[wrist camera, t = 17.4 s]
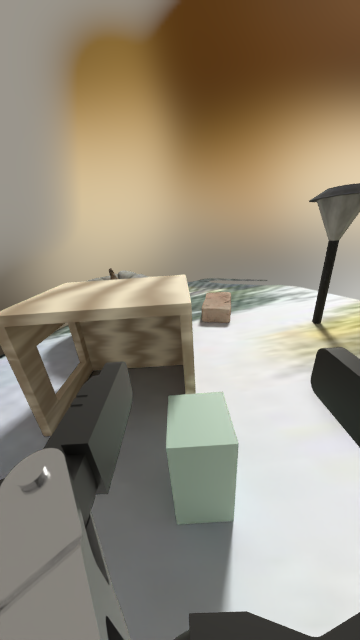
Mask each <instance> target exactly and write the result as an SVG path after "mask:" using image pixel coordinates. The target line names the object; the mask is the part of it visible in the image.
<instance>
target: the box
mask: <svg viewBox="0 0 360 640" xmlns="http://www.w3.org/2000/svg"><path fill="white" fill-rule="evenodd" d="M65 323H68V325H69V328H70V332H71V335H72V338H73V341H74V344H75V348H76V351H77V354H78V357H79V361H80V363H79V364H78V366H77V367H76V368H75V370H74V371H73V372H72V374H71V375H70V376H69V378H68V379H67V380H66V381H65V383H64V384H63V385H62V387H61V388H60V389H59V391H58V392H57V393H56V394H55V392H54V389H53V387H52V384H51V382H50V379H49V377H48V374H47V372H46V369H45V367H44V364H43V362H42V359H41V357H40V354H39V351H38V349H37V345H38V344H39V343H41V342H42V341H43V340H44V339H46V338H47V337H48V336H50V335H51V334H52V333H53V332H55V331H56V330H57V329H58V328H60V327H61V326H62V325H63V324H65ZM0 345H1V347H2V349H3V351H4V353H5V355H6V357H7V359H8V362H9V364H10V366H11V368H12V370H13V372H14V374H15V376H16V378H17V381H18V383H19V385H20V387H21V389H22V391H23V393H24V395H25V397H26V399H27V402H28V404H29V406H30V408H31V410H32V412H33V414H34V416H35V418H36V421H37V423H38V425H39V427H40V429H41V431H42V433H43V435H44V436H52V434H53V432H54V431H55V429H56V428H57V426H58V424H59V423H60V421H61V419H62V418H63V416H64V415H65V413H66V411H67V410H68V408H69V407H70V406H71V403H72V402H73V400H74V398H76V395H77V394H78V392H79V390H80V389H81V387H82V385H83V384H84V383H86V381H87V380H88V378H89V377H90V375H91V373H92V372H93V371H94V370H102V368H103V367H104V365H105V363H108V362H123V361H124V362H126V365H127V368H141V367H157V366H172V365H183V366H184V380H185V393H186V394H195V373H194V352H193V332H192V311H191V300H190V295H189V290H188V285H187V280H186V275H173V276H160V277H144V278H130V279H116V280H102V281H88V282H73V283H64V284H62V285H60V286H57V287H55V288H53V289H50V290H48V291H46V292H43V293H41V294H39V295H36V296H34V297H32V298H30V299H27V300H25V301H23V302H20V303H18V304H16V305H13V306H11V307H9V308H7V309H4V310H2V311H0Z"/></svg>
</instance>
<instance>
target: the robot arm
mask: <svg viewBox="0 0 360 640" xmlns="http://www.w3.org/2000/svg"><path fill="white" fill-rule="evenodd" d="M311 386H312V389H313V391H314V393H315V394H316V395H317V397H318V398H319V399H320V400H321V401H322V403H323V404H324V405H325V406H326V407H327V409H328V410H329V411H330V412H331V413H332V415H333V416H334V417H335V418H336V419H337V421H338V422H339V423H340V424H341V425H342V427H343V428H344V429H345V430H346V431H347V433H348V434H349V435H350V436H351V437H352V439H353V440H354V441H355V442H356V443H357V445H358V446H359V447H360V359H359V358H357V357H356V356H355V355H353V354H352V353H350V352H349V351H348V350H346V349H345V348H342V347H336V348H322V349H319V350H318V352H317V354H316V359H315V363H314V367H313V371H312V376H311ZM132 399H133V393H132V387H131V382H130V378H129V373H128V369H127V365H126V362H124V361H123V362H108V363H105V365H104V367H103V368H102V370H101V372H100V374H99V375H97V376H92V377H91V378H90V379H89V380H88V381H87V382H86V383H84V384H83V385H82V387H81V389H80V390H79V392H78V394H77V395H76V398H74V400H73V402H72V403H71V406H70V407H69V408H68V410H67V411H66V413H65V415H64V416H63V418H62V419H61V421H60V423H59V424H58V426H57V428H56V429H55V431H54V432H53V434H52V436H51V437H50V439H49V440H48V442H47V444H46V445H45V447H44V448H43V449H42V450H39V451H37V452H35V453H33V454H31V455H29V456H28V457H26V458H25V459H23V460H22V461H21V462H20V463H18V464H17V465H16V466H15V467H14V468H13V469H12V470H11V471H10V473H9V474H8V475H7V476H6V478H4V479H2V480H0V640H131V638H130V635H129V632H128V628H127V625H126V622H125V619H124V616H123V613H122V610H121V607H120V604H119V602H118V599H117V597H116V594H115V591H114V588H113V585H112V581H111V578H110V575H109V571H108V568H107V564H106V561H105V557H104V554H103V550H102V547H101V543H100V540H99V536H98V533H97V529H96V526H95V522H94V519H93V516H92V512H91V508H92V505H93V502H94V499H95V495H96V494H108V492H109V488H110V484H111V480H112V477H113V473H114V469H115V465H116V462H117V458H118V454H119V450H120V447H121V443H122V439H123V436H124V432H125V428H126V424H127V421H128V417H129V413H130V409H131V406H132ZM189 626H190V630H188V631H186V632H184V633H183V634H181V635H179V636H178V637H176V638H175V639H174V640H360V612H359V613H358V614H356V615H355V616H353V617H351V618H350V619H348V620H347V621H345V622H343V623H342V624H340V625H339V626H337V627H335V628H334V629H332V630H331V631H329V632H327V633H326V634H324V635H322V636H320V637H311V636H308V635H305V634H303V633H300V632H298V631H295V630H293V629H290V628H287V627H285V626H282V625H280V624H277V623H275V622H272V621H270V620H267V619H264V618H262V617H259V616H257V615H254V614H252V613H249V612H247V611H246V612H218V613H191V614H189Z"/></svg>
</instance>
